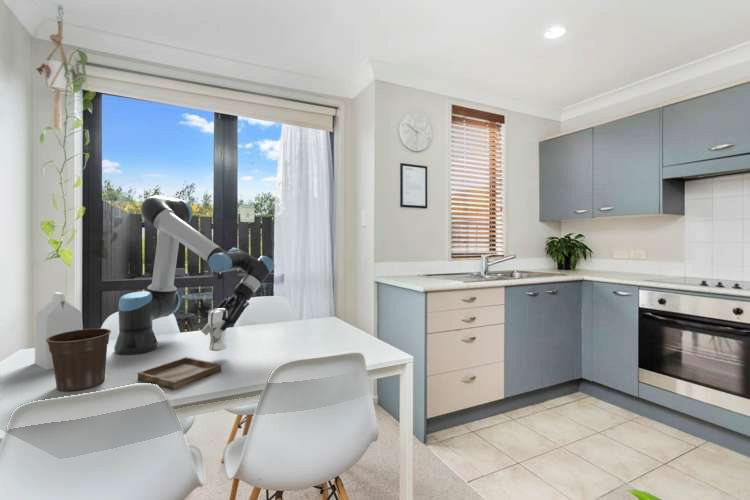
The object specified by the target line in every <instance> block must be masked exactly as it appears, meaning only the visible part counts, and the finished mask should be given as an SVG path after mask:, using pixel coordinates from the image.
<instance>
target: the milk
mask: <svg viewBox="0 0 750 500" xmlns="http://www.w3.org/2000/svg"><path fill="white" fill-rule="evenodd" d="M82 314H83V313H82V312H81V311H80V309H78V308H77V307H75V306H74V305H72V304H70V303H69V302H67V301H66V298H65V293H64V292H58V291H57V292H56V291H55V292H53V294H52V299H51V300H50V301H48V302H47V303H46V304H45V305H44V306H43V307H42V308H40V309H39V310H38V311H37V313H36V314H35V335H34V336H35V338H34V339H35V340H34V343H35V344H34V345H35V346H34V364H35V365H37V366H39V367H41V368H42V369H45V370H46V371H48V370H52V369H54V367H53V361H52V355H51V353H50V351H49V345H48V342H46V339H47V338H48V337H50V336H53V335H56V334H60V333H64V332H69V331H75V330H83V329H84V326H83V315H82Z"/></svg>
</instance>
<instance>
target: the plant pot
mask: <svg viewBox="0 0 750 500" xmlns="http://www.w3.org/2000/svg"><path fill="white" fill-rule="evenodd" d="M111 333H112V330H111V329H109V328H101V327H100V328H83V330H75V331H69V332H64V333H60V334H56V335H53V336H50V337H48V338H47V339H46V342H48V345H49V351H50V353H51V355H52V361H53V367H54V368H53V372H54V378H55V384H56V389H57V390H58V391H60V392H69V391H70V390H73V391H81V390H84V389H85V390H86V389H89V388H93V387H96V386H97V385H100V384H101V383H102V382H104V381H105V379H106V365H107V354H108V353H107V351H108V345H109V339H110V334H111Z"/></svg>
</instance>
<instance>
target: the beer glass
mask: <svg viewBox="0 0 750 500" xmlns="http://www.w3.org/2000/svg"><path fill="white" fill-rule="evenodd" d="M227 316H228V311H227V309H215V308H211V309H209V310H208V318H207V319H208V320H207V323H208V327H209V333H208V334H209V337H210V341H209V347H208V348H209V351H212V352H218V351H219V352H220V351H223V350H226V349H227V344H226V334H227V329H228V327H227V328H226V330H225V331H224V332H223V333H222V334H221V336H220V337H219V338H218V339H216V338H215V337H214V336H213V335H212V334H213V333H214V331H215V330H216V329H217V328H218V326H219V325H220V324H221V323H222V322H223V320H224V319H226V318H227ZM224 321H225V320H224ZM225 322H226V321H225Z"/></svg>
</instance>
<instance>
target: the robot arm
mask: <svg viewBox="0 0 750 500" xmlns="http://www.w3.org/2000/svg"><path fill="white" fill-rule="evenodd" d="M140 213H141V216H142V218H143V219H144V220H145V221H146V222H147V223H148V224H149V225H151V226H152V227H154V228H155V229H157V231H158V234H157V240H156V241H157V242H156V248H155V249H156V250H155V255H154V263H153V272H152V278H151V279H152V280H151V283H150V284H149V285H148V286H147V288H146V290H142V291H135V292H130V293H126V294H123V295H122V296H121V297H120V298H118V307H117V309H118V335H117V338H116V341H115V344H114V347H113V348H114V349H113V350H114V351H113V352H114V354H116V355H121V356H131V355H137V354H138V355H139V354H143V353H149V352H151V351H155V350H156V349H157V348H158V340H157V337H156V335H155V332H154V330H153V329H154V328H153V320H157V319H161V318H165V317H169V316H170V315H172V314H175V313H176V312H177V310H178V309H179V308H180V306H181V296H180V295H179V293H178V291H177V290H178V289H177V288H178V287H176V286H175V276H176V269H177V262H178V261H177V260H178V255H179V254H178V253H179V248H180V245H179V244H180V243H181V245H183V246H184V247H186V248H188V250H190V251H192V252H193V253H194V254H196V255H197V256H198V257H200V258H201V259H203V260H204V261H206V263H208V266H209V268H210V270H211V271H213V272H215V273H221V274H223V273H226V272H231V271H237V270H240V271H242V272H244V273H245V275H244V276H243V278H241V280H240V282H239V283H238V284H237V285H236V286H235V287H234V288H233V294H232V295H231V296H228V295H226V296H224V298H223V299H222V301H220V303H219V304H218V305H217V306H216V307H215V308H214V309H227V312H228V311H229V312H228V313H227V318H226V319H224V320H225V321H226V322H225V321H224V320H223V322H222V323H221V324H220V325H219V326H218V328H217V329H216V330H215V331H214V333H213V334H212V335H213V336H214V337H215V338H216V339H218V338H219V337H220V336H221V334H222V333H223V332H224V331H225V330H226V328H227V329H228V327H229V326H230V325H232V324H233V325H234V324H236V323H237V321H239V318H240V317H241V315H242V314H243V313H244V311H245V309H246V308H247V307H248V306H249V305H250V303H249V301H250V300H251V298H252V297H253V296H254V294H255V293H256V291H257V290H258V289H259V288H260V287H261V285H262V284H263V283H264V281H265V280H266V279H267V278H268V276H269V275H271V272H272V271H273V269H274V268H275V263H274V261H273V260H272V258H270V257H269V256H265V255H261V256H259V257H258V258H257V257H254V255H250V254H249V253H247V252H245V251H243V249H240V248H237V247H231V249H229V250H228V251H226V250H224V249H223V248H221V246H219V245H218V244H216V243H215V242H214V241H212V240H211V239H209V238H208V237H206V236H205V235H204V234H202V233H201V232H199V231H198V230H197V229H196V228H194V227H193V226H191V225H190V224H188V223H189V222H191V221H192V218H193V211H192V207H191V206H190V204H189V203H188V202H187V201H185V200H184V199H180V198H177V197H169V196H163V195H153V196H149V197H147V198H146V199H145V200H144V201H143V202H142V204H141V206H140ZM226 331H227V330H226ZM201 333H202V334H204V335H205V336H208V335H209V334H210V333H209V327H208V322H207V323H206V324H205V325H204V327H203V328H201Z"/></svg>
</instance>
